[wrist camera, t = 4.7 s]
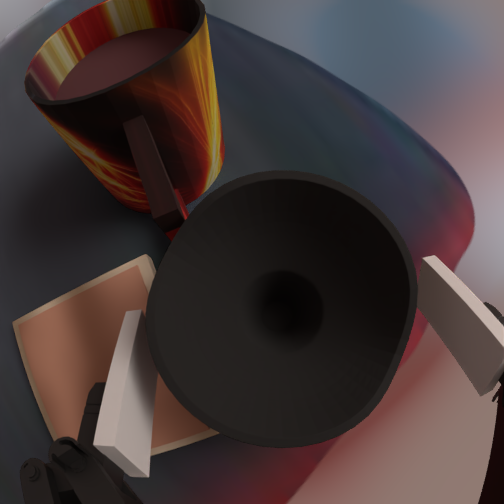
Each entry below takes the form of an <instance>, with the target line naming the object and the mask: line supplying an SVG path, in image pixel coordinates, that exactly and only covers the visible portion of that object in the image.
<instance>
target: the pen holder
mask: <svg viewBox="0 0 504 504" xmlns="http://www.w3.org/2000/svg"><path fill="white" fill-rule="evenodd" d="M417 297H418V285H417V276H416V270H415V267H414V263H413V260H412V257H411V254H410V252H409V250H408V248H407V246H406V244H405V241H404V239H403V238H402V236H401V235H400V233H399V232H398V230H397V229H396V227H395V226H394V225H393V223H392V222H391V221H390V220H389V219H388V218H387V216H386V215H385V214H384V213H383V212H382V211H381V210H380V209H379V208H378V207H376V206H375V205H374V204H373V203H372V202H371V201H370V200H368V199H367V198H365V197H364V196H363V195H361V194H360V193H358V192H357V191H355V190H353V189H352V188H350V187H348V186H346V185H344V184H342V183H340V182H337V181H335V180H332V179H330V178H327V177H324V176H320V175H316V174H312V173H307V172H299V171H283V170H280V171H266V172H258V173H254V174H250V175H246V176H243V177H239V178H237V179H235V180H233V181H230V182H228V183H226V184H224V185H222V186H221V187H219V188H218V189H216V190H215V191H213V192H212V193H210V194H209V195H208V196H207V197H206V198H205V199H204V200H202V201H201V202H200V203H199V204H198V205H197V206H196V207H195V209H194V210H193V211H192V212H191V214H190V215H189V216H188V217H187V219H186V220H185V221H184V223H183V224H182V226H181V227H180V229H179V230H178V232H177V233H176V235H175V237H174V238H173V240H172V242H171V244H170V246H169V247H168V249H167V251H166V253H165V255H164V257H163V259H162V261H161V263H160V265H159V267H158V269H157V272H156V274H155V277H154V279H153V281H152V285H151V288H150V292H149V295H148V299H147V306H146V313H145V322H146V336H147V340H148V345H149V350H150V353H151V356H152V358H153V361H154V363H155V366H156V369H157V371H158V372H159V374H160V376H161V378H162V379H163V381H164V383H165V385H166V386H167V388H168V389H169V390H170V392H171V393H172V394H173V395H174V397H175V398H176V399H177V400H178V402H179V403H180V404H181V405H182V406H183V407H184V408H185V409H186V410H188V411H189V412H190V413H191V414H192V415H193V416H194V417H196V418H197V419H198V420H200V421H201V422H202V423H204V424H205V425H207V426H208V427H210V428H212V429H213V430H215V431H217V432H219V433H221V434H223V435H225V436H227V437H230V438H232V439H235V440H238V441H241V442H244V443H248V444H253V445H257V446H262V447H275V448H290V447H303V446H308V445H312V444H317V443H321V442H324V441H327V440H329V439H332V438H335V437H337V436H339V435H341V434H343V433H345V432H347V431H348V430H350V429H352V428H354V427H355V426H356V425H357V424H358V423H360V422H361V421H362V420H364V419H365V418H366V417H367V416H369V414H370V413H371V412H372V411H373V410H374V408H375V407H376V406H377V405H378V404H379V402H380V401H381V399H382V398H383V396H384V394H385V393H386V391H387V389H388V388H389V386H390V384H391V382H392V379H393V377H394V375H395V373H396V371H397V368H398V366H399V363H400V361H401V358H402V356H403V353H404V350H405V348H406V345H407V342H408V339H409V336H410V333H411V330H412V326H413V323H414V318H415V313H416V308H417Z"/></svg>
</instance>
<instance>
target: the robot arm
mask: <svg viewBox="0 0 504 504" xmlns="http://www.w3.org/2000/svg"><path fill="white" fill-rule="evenodd" d="M417 307H418V309H419V310H420V311H421V312H422V314H423V315H424V316H425V318H426V319H427V320H428V322H429V323H430V324H431V326H432V327H433V328H434V329H435V331H436V332H437V334H438V335H439V336H440V338H441V339H442V341H443V342H444V343H445V345H446V346H447V348H448V349H449V350H450V352H451V353H452V355H453V356H454V357H455V359H456V360H457V362H458V363H459V365H460V366H461V368H462V369H463V370H464V372H465V374H466V375H467V377H468V378H469V380H470V381H471V383H472V384H473V386H474V387H475V389H476V390H477V392H478V393H479V395H480V396H483V395H484V394H486V393H488V392H490V391H491V390H493V388H494V387H495V385H496V384H497V382H498V381H499V382H500V383H501V386H500V388H499V389H498V391H497V392H496V394H495V395H494V397H493V399H492V402H494V401H495V399H496V398H497V397H498V401H497V403H498V407H497V415H496V423H495V430H494V437H493V443H492V448H491V454H490V459H489V464H488V468H487V473H486V477H485V481H484V485H483V489H482V492H481V496H480V499H479V502H478V504H504V317H502V314H501V313H500V312H499V311H498V310H497V309H496V308H495V307H493V306H492V305H490V304H489V303H487V302H485V303H482V302H481V301H480V300H479V299H478V298H477V297H476V296H475V295H474V294H473V292H472V291H471V290H470V289H469V288H468V287H467V286H466V285H465V284H464V283H463V282H462V281H461V280H460V279H459V278H458V277H457V276H455V274H454V273H453V272H452V271H451V270H450V269H448V268H447V267H446V266H445V265H444V264H443V263H442V262H441V261H440V260H439V259H438V258H437V257H436V256H435V255H433V256H429V257H425V258H423V259H422V264H421V270H420V276H419V281H418V297H417ZM157 378H158V371H157V369H156V366H155V363H154V361H153V358H152V356H151V353H150V350H149V345H148V340H147V336H146V322H145V316H144V314H143V311H142V309H140V310H133V311H126V314H125V317H124V320H123V323H122V327H121V330H120V334H119V337H118V341H117V344H116V348H115V351H114V355H113V359H112V363H111V366H110V370H109V374H108V378H107V382H96V383H95V384H94V386H93V387H92V388H91V390H90V391H89V393H88V397H87V401H86V406H85V408H84V415H83V416H82V421H81V425H80V429H79V434H78V438H77V441H76V440H75V439H74V438H72V437H69V436H67V437H61V438H58V439H57V440H56V441H54V442H53V443H52V445H51V447H50V449H49V455H48V456H49V460H50V462H51V463H47V464H45V463H43V462H42V461H41V460H39V459H36V458H30V459H28V460H27V461H25V462H24V464H23V465H22V467H21V470H20V479H21V485H22V490H23V495H24V500H25V504H143V503H142V502H141V500H140V499H139V498H138V497H137V495H136V494H135V493H134V492H133V491H132V489H131V488H130V487H129V485H128V484H127V483H126V482H125V481H124V480H123V473H124V472H125V473H126V474H128V475H129V476H130V477H149V469H150V453H151V439H152V427H153V415H154V405H155V395H156V386H157Z"/></svg>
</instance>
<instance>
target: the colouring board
mask: <svg viewBox="0 0 504 504" xmlns="http://www.w3.org/2000/svg"><path fill="white" fill-rule="evenodd" d="M155 274H156V269H155V266H154V264H153V261H152V258H150V257H149V256H148V255H147V254H144V255H142V256H140V257H138V258H136V259H134V260H132V261H130V262H128V263H126V264H124V265H122V266H120V267H118V268H116V269H114V270H111V271H109V272H107V273H105V274H103V275H101V276H99V277H97V278H95V279H93V280H91V281H89V282H88V283H86V284H84V285H82V286H80V287H78V288H76V289H74V290H72V291H70V292H68V293H66V294H64V295H62V296H60V297H58V298H56V299H55V300H53V301H51V302H49V303H47V304H45V305H43V306H41V307H39V308H38V309H36V310H34V311H32V312H30V313H28V314H26V315H25V316H23V317H21V318H19V319H17V320H15V321H14V322H12V323H13V327H14V331H15V335H16V339H17V343H18V347H19V350H20V353H21V357H22V360H23V363H24V367H25V370H26V373H27V376H28V379H29V382H30V384H31V387H32V390H33V393H34V395H35V398H36V401H37V403H38V406H39V408H40V411H41V413H42V416H43V418H44V420H45V423H46V425H47V427H48V429H49V432H50V434H51V436H52V438H53V440H54V441H56V440H57V439H58V438H61V437H67V436H69V437H72V438H74V439H75V440H76V441H77V438H78V434H79V429H80V425H81V421H82V416H83V415H84V408H85V406H86V401H87V397H88V393H89V391H90V390H91V388H92V387H93V386H94V384H95V383H96V382H107V378H108V374H109V370H110V366H111V363H112V359H113V355H114V351H115V348H116V344H117V341H118V337H119V334H120V330H121V327H122V323H123V320H124V317H125V314H126V311H133V310H140V309H142V311H143V314H144V316H145V313H146V306H147V299H148V295H149V292H150V288H151V285H152V281H153V279H154V277H155ZM216 434H219V432H217V431H215V430H213V429H212V428H210V427H208V426H207V425H205V424H204V423H202V422H201V421H200V420H198V419H197V418H196V417H194V416H193V415H192V414H191V413H190V412H189V411H188V410H186V409H185V408H184V407H183V406H182V405H181V404H180V403H179V402H178V400H177V399H176V398H175V397H174V395H173V394H172V393H171V392H170V390H169V389H168V388H167V386H166V385H165V383H164V381H163V379H162V378H161V376H160V374H159V372H158V378H157V386H156V395H155V405H154V415H153V427H152V439H151V453H150V456H152V455H155V454H159V453H162V452H166V451H169V450H172V449H175V448H179V447H182V446H185V445H188V444H191V443H194V442H197V441H200V440H203V439H205V438H208V437H211V436H214V435H216Z"/></svg>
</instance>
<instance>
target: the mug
mask: <svg viewBox="0 0 504 504" xmlns="http://www.w3.org/2000/svg"><path fill="white" fill-rule="evenodd" d="M24 84H25V91H26V93H27V95H28V96H29V98H30V99H31V100H32V102H33V103H34V104H35V105H36V107H37V108H38V109H39V110H40V112H41V113H42V114H43V115H44V117H45V118H46V119H47V120H48V122H49V123H50V124H51V125H52V126H53V128H54V129H55V130H56V131H57V132H58V134H59V135H60V136H61V137H62V138H63V140H64V141H65V142H66V143H67V144H68V145H69V147H70V148H71V149H72V150H73V151H74V152H75V154H76V155H77V156H78V157H79V158H80V159H81V161H82V162H83V163H84V164H85V165H86V166H87V167H88V169H89V170H90V171H91V172H92V173H93V174H94V175H95V176H96V178H97V179H98V180H99V181H100V182H101V183H102V184H103V185H104V186H105V188H106V189H107V190H108V191H109V192H110V193H111V194H112V195H113V196H114V197H115V199H116V200H117V201H118V202H120V203H121V204H122V205H124V206H125V207H127V208H129V209H132V210H134V211H137V212H142V213H152V216H153V219H154V220H155V222H156V223H157V224H158V225H159V227H160V228H161V229H162V230H163V231H164V233H165V234H166V235H167V236H168V238H169V239H170V240H171V241H172V240H173V238H174V237H175V235H176V233H177V232H178V230H179V229H180V227H181V226H182V224H183V223H184V221H185V220H186V219H187V217H188V216H189V213H188V210H187V208H186V206H185V205H187V204H189V203H190V202H192V201H194V200H195V199H197V198H198V197H199V196H201V195H202V194H203V193H204V192H205V191H206V190H207V189H208V188H209V187H210V186H211V184H212V183H213V182H214V181H215V179H216V177H217V176H218V174H219V172H220V170H221V167H222V164H223V160H224V152H225V146H224V140H223V133H222V126H221V119H220V112H219V105H218V98H217V91H216V84H215V77H214V70H213V63H212V55H211V48H210V41H209V34H208V26H207V19H206V12H205V7H204V4H203V3H202V2H201V1H200V0H106V1H104V2H102V3H99V4H97V5H95V6H93V7H91V8H89V9H87V10H86V11H84V12H82V13H80V14H79V15H77V16H76V17H74V18H73V19H71V20H70V21H68V22H67V23H66V24H65V25H63V26H62V27H61V28H60V29H58V30H57V31H56V32H55V33H54V34H53V35H52V36H51V37H50V38H49V39H48V40H47V41H46V42H45V43H44V44H43V45H42V47H41V48H40V49H39V50H38V52H37V53H36V55H35V56H34V58H33V59H32V61H31V63H30V65H29V67H28V70H27V72H26V77H25V82H24Z"/></svg>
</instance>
